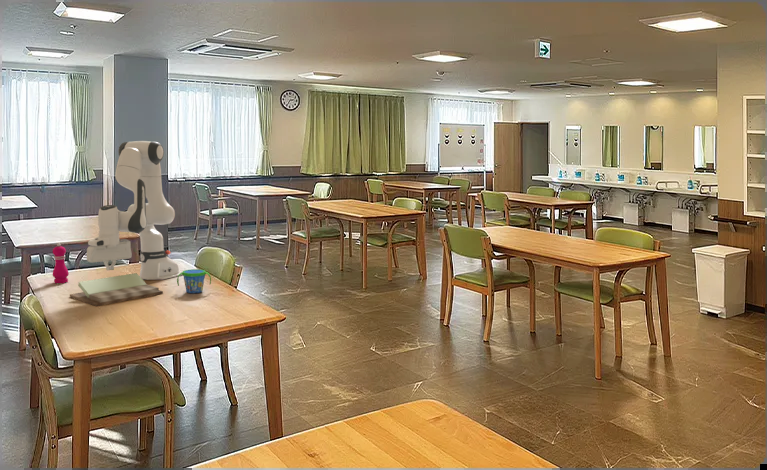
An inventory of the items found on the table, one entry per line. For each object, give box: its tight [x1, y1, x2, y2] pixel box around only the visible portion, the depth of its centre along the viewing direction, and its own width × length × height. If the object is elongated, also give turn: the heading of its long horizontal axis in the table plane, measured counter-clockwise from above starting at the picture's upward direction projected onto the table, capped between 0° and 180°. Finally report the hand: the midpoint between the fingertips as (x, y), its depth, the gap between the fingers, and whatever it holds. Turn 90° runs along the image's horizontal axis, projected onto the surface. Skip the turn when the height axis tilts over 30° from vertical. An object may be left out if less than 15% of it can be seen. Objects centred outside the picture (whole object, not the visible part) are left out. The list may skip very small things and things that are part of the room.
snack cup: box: [176, 268, 212, 294], centre depth 310 cm, size 16×10×10 cm
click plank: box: [78, 272, 148, 298], centre depth 304 cm, size 28×10×2 cm, turn 140°
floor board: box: [69, 284, 164, 307], centre depth 303 cm, size 32×25×3 cm
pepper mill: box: [52, 242, 69, 284], centre depth 328 cm, size 7×7×20 cm
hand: (110, 269), depth 304 cm, fingers closed
